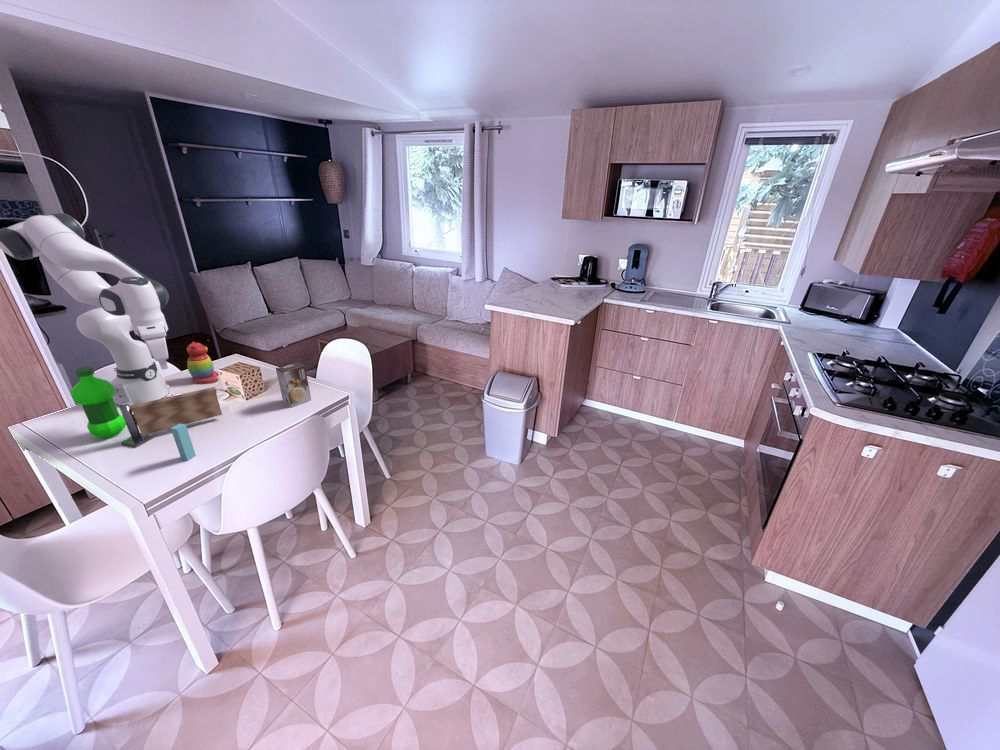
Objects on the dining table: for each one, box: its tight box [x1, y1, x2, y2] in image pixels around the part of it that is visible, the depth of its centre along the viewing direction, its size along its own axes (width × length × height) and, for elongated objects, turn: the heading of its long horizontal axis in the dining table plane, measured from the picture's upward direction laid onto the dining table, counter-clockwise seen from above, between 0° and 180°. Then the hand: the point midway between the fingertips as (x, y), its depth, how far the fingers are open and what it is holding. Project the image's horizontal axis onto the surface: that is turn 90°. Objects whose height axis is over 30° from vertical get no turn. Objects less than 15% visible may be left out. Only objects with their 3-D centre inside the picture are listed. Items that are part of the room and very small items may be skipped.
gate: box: [130, 386, 223, 436], centre depth 143 cm, size 24×2×11 cm, turn 133°
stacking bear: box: [186, 341, 220, 385], centre depth 178 cm, size 11×10×18 cm
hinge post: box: [118, 404, 154, 448], centre depth 135 cm, size 6×6×14 cm
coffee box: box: [275, 361, 312, 408], centre depth 164 cm, size 9×6×16 cm
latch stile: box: [170, 423, 197, 462], centre depth 128 cm, size 2×3×12 cm
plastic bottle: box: [70, 366, 127, 439], centre depth 135 cm, size 10×10×25 cm
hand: (163, 364), depth 140 cm, fingers open, 8 cm apart
